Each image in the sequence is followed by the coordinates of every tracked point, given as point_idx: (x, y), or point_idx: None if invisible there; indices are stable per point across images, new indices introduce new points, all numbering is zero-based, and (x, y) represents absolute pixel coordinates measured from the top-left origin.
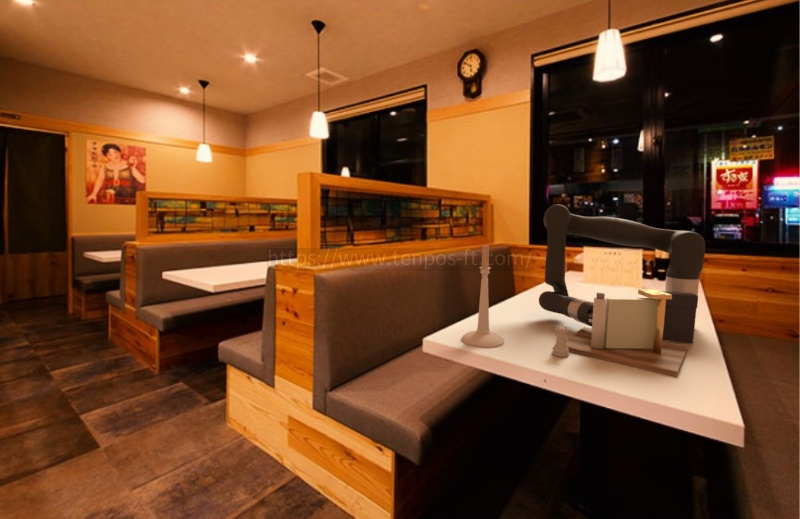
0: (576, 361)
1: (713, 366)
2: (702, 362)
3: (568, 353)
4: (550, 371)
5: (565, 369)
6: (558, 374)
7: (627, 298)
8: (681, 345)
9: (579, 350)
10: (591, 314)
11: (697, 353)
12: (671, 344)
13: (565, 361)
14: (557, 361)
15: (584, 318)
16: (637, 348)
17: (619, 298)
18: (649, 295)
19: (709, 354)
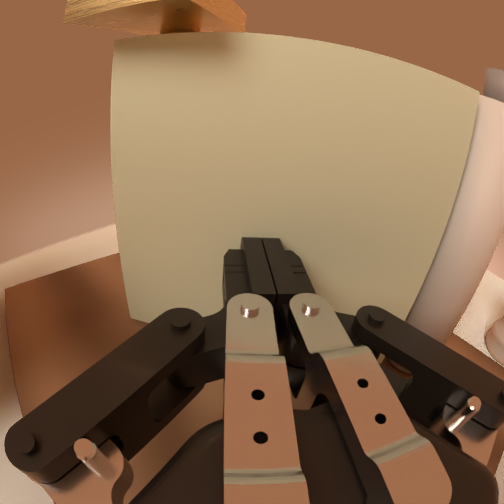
0: (465, 311)
1: (102, 233)
2: (93, 248)
3: (488, 338)
4: (500, 281)
5: (481, 283)
6: (487, 272)
7: (336, 47)
8: (9, 299)
9: (465, 343)
10: (490, 490)
11: (19, 281)
12: (22, 315)
13: (486, 313)
14: (500, 314)
15: None
16: None
17: (394, 62)
18: (238, 17)
19: (6, 270)
